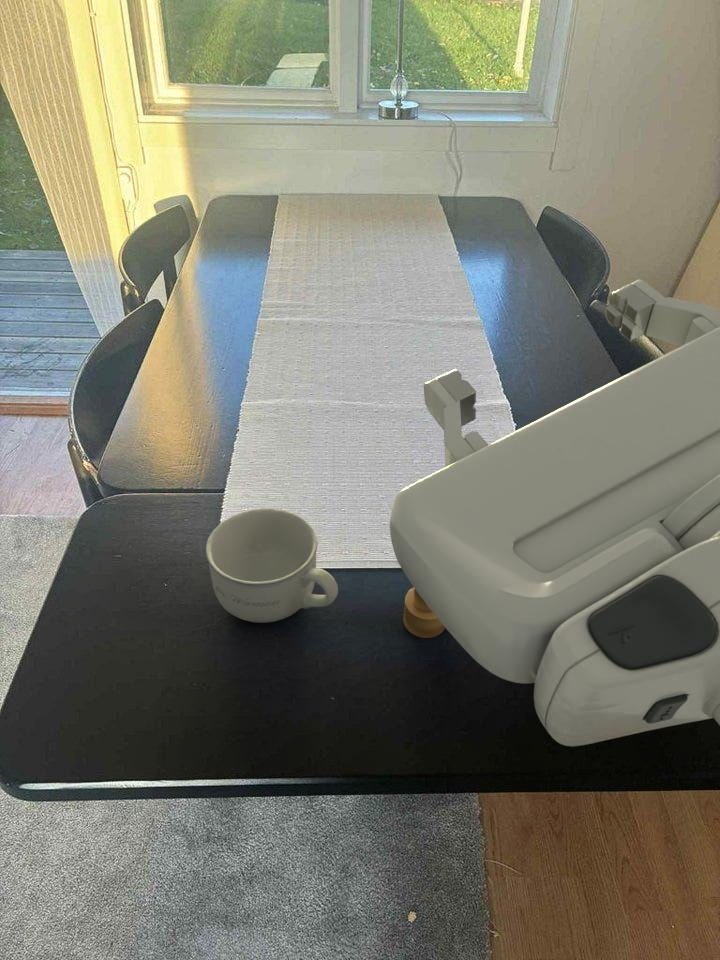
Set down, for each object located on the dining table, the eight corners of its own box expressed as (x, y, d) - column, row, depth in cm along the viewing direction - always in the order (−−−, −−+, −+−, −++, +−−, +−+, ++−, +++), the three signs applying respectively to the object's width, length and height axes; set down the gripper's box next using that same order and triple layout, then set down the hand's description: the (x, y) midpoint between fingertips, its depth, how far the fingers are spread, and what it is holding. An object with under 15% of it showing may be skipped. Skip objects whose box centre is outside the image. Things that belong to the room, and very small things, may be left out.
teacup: (194, 596, 73) (182, 543, 68) (272, 542, 79) (267, 489, 74) (284, 676, 66) (279, 623, 61) (362, 610, 72) (364, 556, 67)
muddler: (453, 614, 72) (472, 499, 61) (434, 645, 69) (451, 529, 58) (415, 597, 73) (427, 481, 63) (395, 626, 70) (404, 510, 60)
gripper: (1075, 390, 22) (742, 186, 30) (533, 715, 18) (312, 389, 26) (960, 498, 27) (701, 301, 35) (518, 769, 24) (338, 483, 31)
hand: (531, 340), depth 30 cm, fingers open, 8 cm apart
